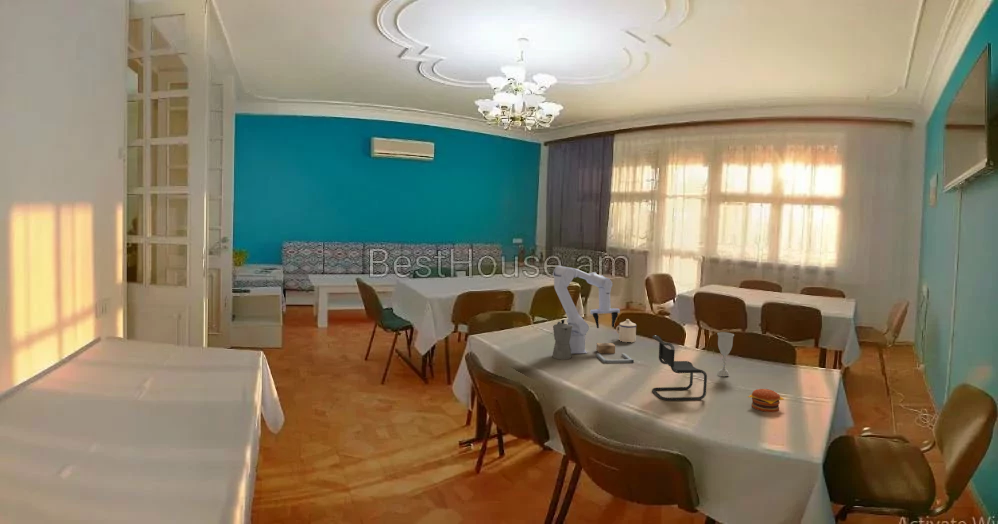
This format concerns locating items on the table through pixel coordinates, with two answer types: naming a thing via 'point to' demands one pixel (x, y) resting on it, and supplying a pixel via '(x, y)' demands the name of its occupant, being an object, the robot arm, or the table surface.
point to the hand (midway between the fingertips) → (605, 327)
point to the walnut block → (605, 348)
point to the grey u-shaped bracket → (626, 360)
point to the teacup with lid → (627, 331)
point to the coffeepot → (562, 340)
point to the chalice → (724, 349)
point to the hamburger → (765, 400)
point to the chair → (677, 370)
